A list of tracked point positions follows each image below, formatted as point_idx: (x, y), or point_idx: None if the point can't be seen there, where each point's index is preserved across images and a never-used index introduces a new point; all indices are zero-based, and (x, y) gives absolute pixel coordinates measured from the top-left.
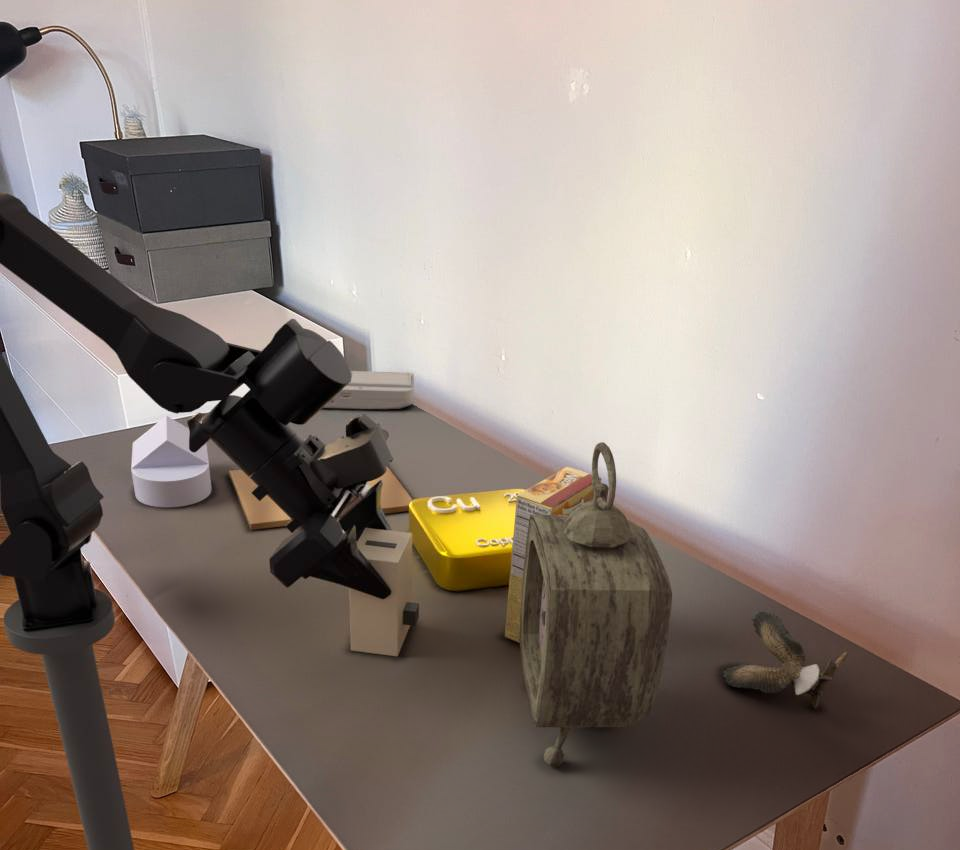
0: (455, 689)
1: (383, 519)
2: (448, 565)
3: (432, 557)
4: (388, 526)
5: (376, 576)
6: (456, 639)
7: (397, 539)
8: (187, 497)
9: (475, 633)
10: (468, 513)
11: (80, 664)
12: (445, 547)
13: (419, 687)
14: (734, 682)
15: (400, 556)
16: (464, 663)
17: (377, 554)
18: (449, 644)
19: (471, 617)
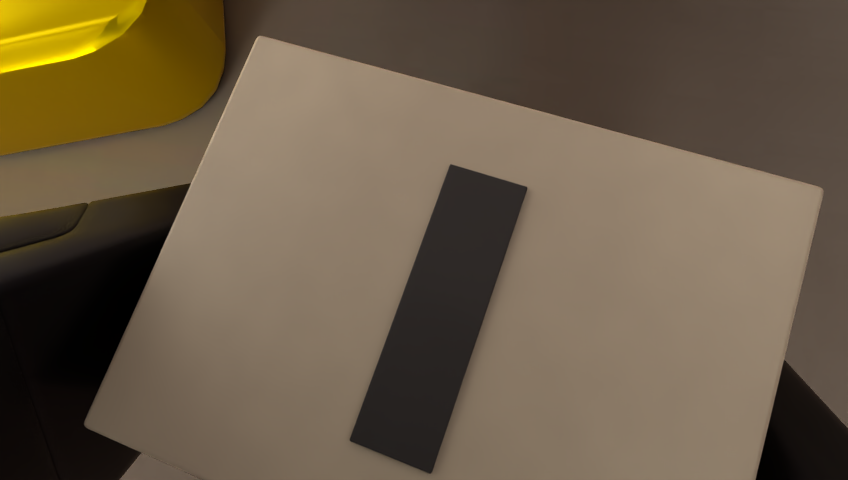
0: (822, 136)
1: (26, 242)
2: (162, 40)
3: (64, 101)
4: (95, 215)
5: (809, 396)
6: (515, 101)
7: (359, 156)
8: None
9: (484, 40)
10: None
11: None
12: (67, 19)
13: (811, 252)
14: None
15: (691, 155)
16: (663, 92)
17: (647, 366)
18: None
19: (386, 41)
